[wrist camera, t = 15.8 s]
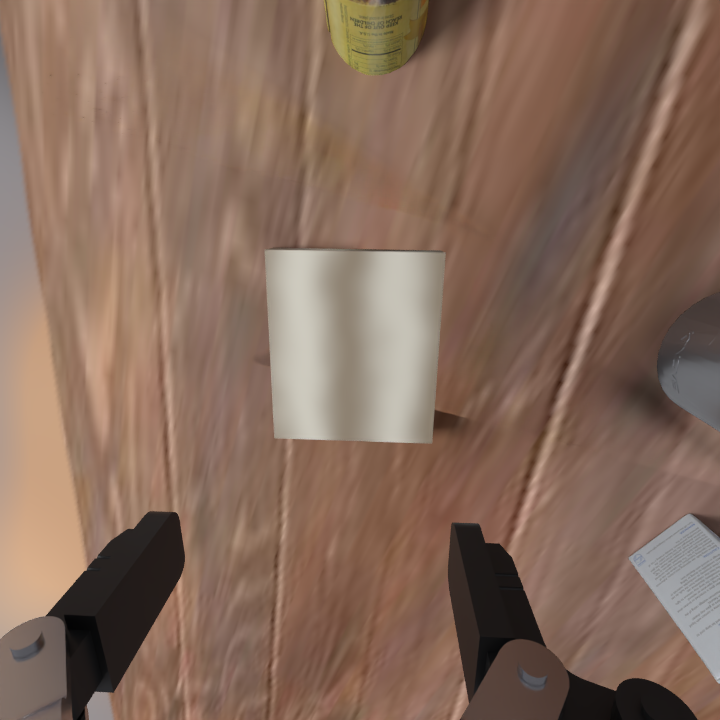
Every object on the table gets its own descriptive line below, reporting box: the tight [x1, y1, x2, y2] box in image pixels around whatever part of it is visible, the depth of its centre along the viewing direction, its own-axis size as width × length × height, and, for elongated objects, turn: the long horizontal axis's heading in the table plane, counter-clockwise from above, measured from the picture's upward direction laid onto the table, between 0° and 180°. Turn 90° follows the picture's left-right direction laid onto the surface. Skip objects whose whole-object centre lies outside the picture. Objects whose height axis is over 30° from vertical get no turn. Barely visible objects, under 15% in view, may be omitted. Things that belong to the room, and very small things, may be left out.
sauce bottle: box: [324, 0, 429, 75], centre depth 31 cm, size 7×6×20 cm
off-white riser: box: [265, 248, 446, 443], centre depth 32 cm, size 12×14×3 cm
